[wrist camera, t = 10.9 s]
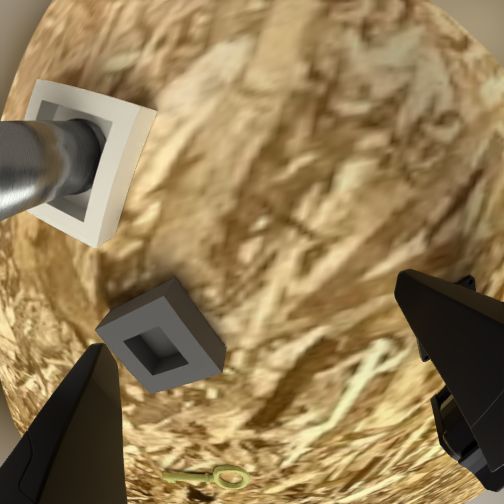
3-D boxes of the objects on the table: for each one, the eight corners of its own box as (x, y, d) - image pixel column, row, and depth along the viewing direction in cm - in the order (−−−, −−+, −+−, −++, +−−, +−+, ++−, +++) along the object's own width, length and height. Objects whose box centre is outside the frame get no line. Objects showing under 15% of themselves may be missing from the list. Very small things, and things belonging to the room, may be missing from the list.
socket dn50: (157, 111, 16) (140, 106, 13) (115, 235, 19) (96, 248, 16) (60, 82, 15) (37, 78, 12) (30, 192, 18) (8, 200, 15)
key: (160, 465, 31) (157, 477, 29) (238, 460, 29) (236, 473, 27) (187, 485, 34) (185, 495, 32) (260, 480, 32) (259, 492, 30)
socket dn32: (226, 348, 22) (222, 372, 19) (159, 371, 23) (150, 394, 21) (175, 276, 20) (163, 295, 17) (109, 310, 21) (94, 329, 19)
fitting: (111, 189, 17) (14, 229, 9) (54, 196, 17) (-38, 235, 9) (106, 111, 15) (4, 102, 7) (49, 127, 15) (-48, 135, 7)
